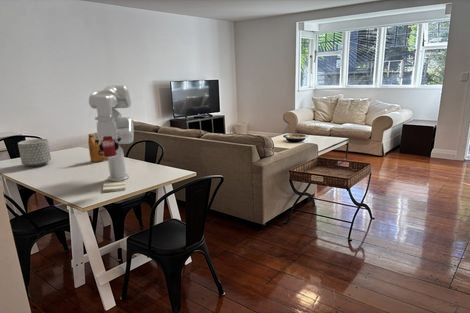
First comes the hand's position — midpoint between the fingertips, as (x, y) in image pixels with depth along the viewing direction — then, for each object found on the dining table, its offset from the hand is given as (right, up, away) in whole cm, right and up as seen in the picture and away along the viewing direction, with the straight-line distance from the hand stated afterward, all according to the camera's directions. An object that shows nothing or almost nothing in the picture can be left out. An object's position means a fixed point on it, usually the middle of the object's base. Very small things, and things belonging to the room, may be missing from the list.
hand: (109, 150), depth 183 cm
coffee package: (-34, -7, +70) cm, 78 cm away
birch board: (0, -22, +8) cm, 23 cm away
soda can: (0, -3, +1) cm, 4 cm away
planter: (-78, -10, +62) cm, 100 cm away
